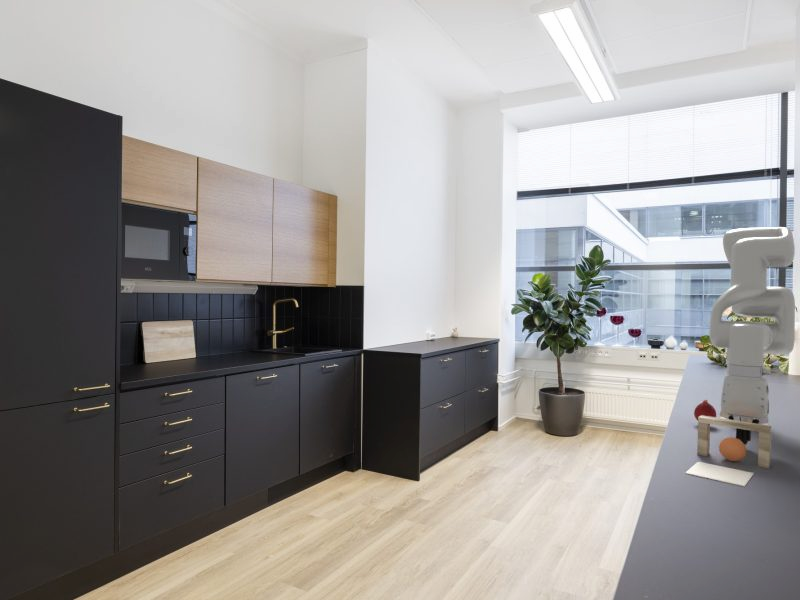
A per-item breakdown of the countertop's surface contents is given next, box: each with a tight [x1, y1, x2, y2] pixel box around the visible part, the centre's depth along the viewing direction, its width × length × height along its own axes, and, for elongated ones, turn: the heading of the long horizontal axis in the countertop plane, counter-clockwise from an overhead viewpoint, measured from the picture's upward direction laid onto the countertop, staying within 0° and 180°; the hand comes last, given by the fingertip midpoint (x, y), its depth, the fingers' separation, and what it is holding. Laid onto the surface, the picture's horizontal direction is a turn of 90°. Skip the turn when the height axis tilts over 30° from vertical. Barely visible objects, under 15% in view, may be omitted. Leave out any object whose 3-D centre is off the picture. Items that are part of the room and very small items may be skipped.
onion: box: [693, 399, 717, 422], centre depth 160 cm, size 6×6×8 cm
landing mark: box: [684, 461, 755, 488], centre depth 116 cm, size 11×11×1 cm
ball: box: [718, 436, 747, 462], centre depth 126 cm, size 6×6×6 cm
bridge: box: [696, 415, 773, 469], centre depth 127 cm, size 3×14×9 cm, turn 48°
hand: (743, 442), depth 136 cm, fingers closed
